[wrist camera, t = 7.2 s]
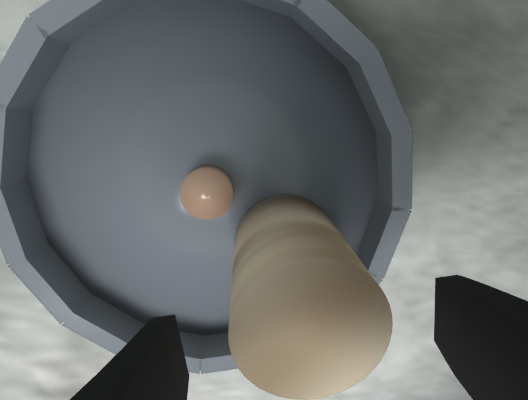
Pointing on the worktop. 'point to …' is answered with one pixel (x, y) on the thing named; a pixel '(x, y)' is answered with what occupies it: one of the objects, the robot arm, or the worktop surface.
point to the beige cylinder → (302, 303)
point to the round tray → (186, 153)
